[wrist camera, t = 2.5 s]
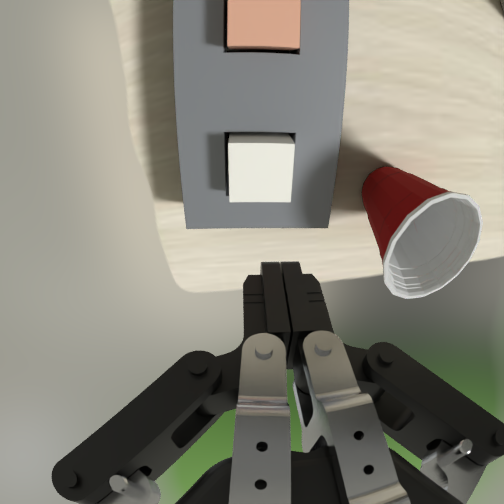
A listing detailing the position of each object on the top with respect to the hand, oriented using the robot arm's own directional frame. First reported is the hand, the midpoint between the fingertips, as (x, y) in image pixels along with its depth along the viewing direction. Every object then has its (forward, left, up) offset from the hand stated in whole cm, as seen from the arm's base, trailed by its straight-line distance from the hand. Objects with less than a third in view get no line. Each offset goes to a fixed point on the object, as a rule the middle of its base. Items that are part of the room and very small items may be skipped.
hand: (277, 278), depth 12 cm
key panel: (0, -6, -19) cm, 20 cm away
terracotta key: (0, -12, -16) cm, 20 cm away
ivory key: (0, 0, -16) cm, 16 cm away
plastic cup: (-15, +4, -19) cm, 24 cm away
